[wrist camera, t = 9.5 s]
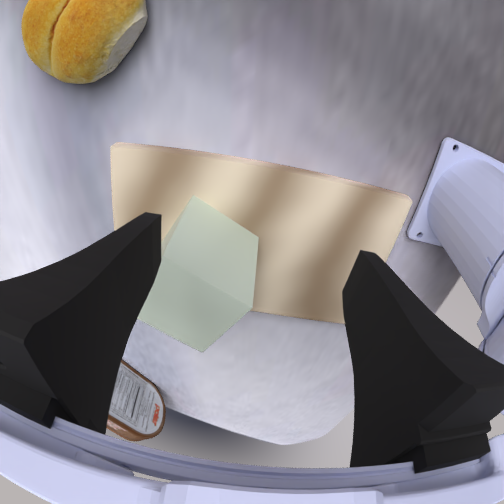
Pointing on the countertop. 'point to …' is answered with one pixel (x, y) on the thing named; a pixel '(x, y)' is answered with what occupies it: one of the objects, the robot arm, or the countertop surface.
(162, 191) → the board
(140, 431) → the tin
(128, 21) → the bread roll
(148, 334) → the countertop surface
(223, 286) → the pale green block
